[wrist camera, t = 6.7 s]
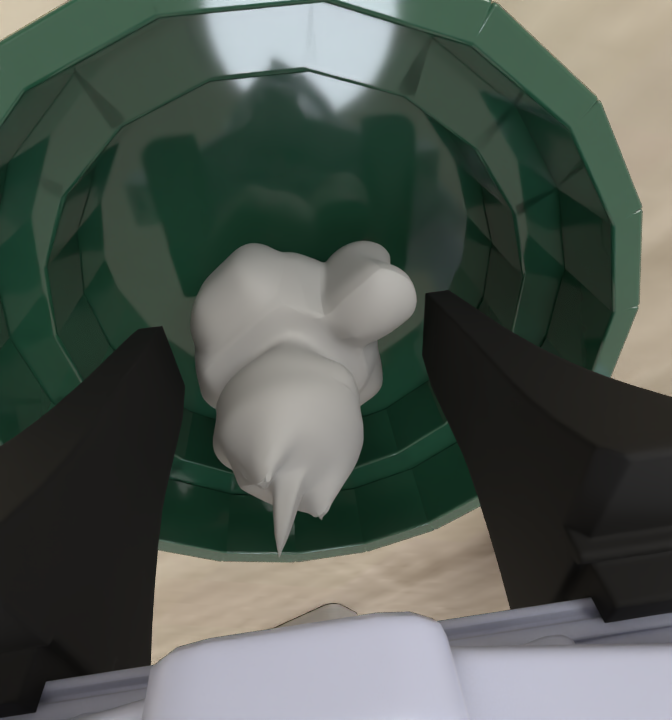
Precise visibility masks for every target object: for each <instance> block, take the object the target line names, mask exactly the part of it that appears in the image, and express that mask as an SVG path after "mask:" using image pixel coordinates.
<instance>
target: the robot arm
mask: <svg viewBox="0 0 672 720" xmlns="http://www.w3.org/2000/svg"><path fill="white" fill-rule="evenodd" d="M422 357H423V360H424V364H425V367H426V371H427V374H428V377H429V380H430V383H431V386H432V389H433V391H434V393H435V395H436V398H437V400H438V402H439V404H440V406H441V409H442V411H443V413H444V415H445V417H446V419H447V421H448V424H449V426H450V428H451V430H452V432H453V434H454V436H455V439H456V441H457V443H458V445H459V447H460V449H461V452H462V454H463V456H464V459H465V461H466V464H467V466H468V469H469V472H470V475H471V478H472V481H473V484H474V487H475V490H476V493H477V496H478V499H479V502H480V506H481V509H482V512H483V515H484V518H485V521H486V525H487V528H488V531H489V534H490V538H491V541H492V545H493V548H494V552H495V555H496V558H497V562H498V565H499V569H500V572H501V576H502V580H503V583H504V587H505V591H506V595H507V598H508V602H509V606H510V610H505V611H499V612H492V613H486V614H479V615H473V616H467V617H460V618H454V619H447V620H441V621H436V620H434V619H432V618H429V617H426V616H423V615H419V614H416V613H412V612H384V613H371V614H365V615H358V616H352V617H345V618H339V619H332V620H326V621H319V622H312V623H306V624H299V625H293V626H286V627H280V628H273V629H267V630H260V631H254V632H247V633H241V634H234V635H227V636H221V637H214V638H209V639H205V640H201V641H198V642H194V643H190V644H187V645H183V646H180V647H177V648H175V649H174V650H173V651H171V652H170V653H169V654H167V655H166V656H165V657H163V658H162V659H161V660H159V661H158V662H157V663H156V664H155V665H151V643H152V621H153V605H154V589H155V576H156V565H157V554H158V544H159V535H160V526H161V518H162V509H163V504H164V498H165V493H166V489H167V484H168V480H169V476H170V472H171V467H172V463H173V459H174V455H175V450H176V446H177V442H178V437H179V433H180V428H181V424H182V419H183V409H184V395H185V384H184V382H183V379H182V376H181V374H180V371H179V368H178V366H177V363H176V361H175V358H174V355H173V353H172V350H171V347H170V345H169V342H168V340H167V337H166V334H165V332H164V329H163V326H158V327H150V328H142V329H138V330H136V331H135V332H134V333H133V334H132V335H131V336H129V337H128V338H127V339H126V340H125V341H124V342H123V343H122V344H121V345H120V346H119V347H118V348H117V349H116V350H115V351H114V352H113V353H112V354H111V355H110V356H109V357H108V358H107V359H106V360H105V361H104V362H103V363H102V364H101V365H100V366H99V367H98V368H97V369H95V370H94V371H93V372H92V373H91V374H90V375H89V376H88V377H87V378H86V379H85V380H84V381H83V382H82V383H80V384H79V385H78V386H77V387H76V388H75V389H74V390H73V391H71V392H70V393H69V394H68V395H67V396H66V397H65V398H63V399H62V400H61V401H60V402H59V403H58V404H57V405H56V406H54V407H53V408H52V409H51V410H49V411H48V412H47V413H46V414H44V415H43V416H42V417H41V418H39V419H38V420H37V421H35V422H34V423H33V424H31V425H30V426H29V427H27V428H26V429H25V430H23V431H22V432H20V433H19V434H18V435H16V436H15V437H13V438H12V439H11V440H9V441H8V442H6V443H4V444H3V445H1V446H0V720H672V397H670V396H667V395H663V394H660V393H656V392H653V391H650V390H646V389H643V388H639V387H636V386H633V385H630V384H627V383H624V382H621V381H618V380H615V379H612V378H610V377H607V376H604V375H602V374H599V373H596V372H593V371H591V370H588V369H586V368H583V367H581V366H578V365H576V364H574V363H572V362H569V361H567V360H565V359H563V358H561V357H559V356H556V355H554V354H552V353H550V352H548V351H546V350H544V349H542V348H540V347H538V346H536V345H534V344H533V343H531V342H529V341H527V340H526V339H524V338H522V337H520V336H518V335H517V334H515V333H513V332H512V331H510V330H508V329H507V328H505V327H504V326H502V325H500V324H499V323H497V322H496V321H494V320H493V319H491V318H490V317H488V316H487V315H485V314H484V313H482V312H481V311H479V310H478V309H476V308H475V307H473V306H472V305H470V304H469V303H467V302H466V301H464V300H463V299H462V298H460V297H459V296H457V295H456V294H454V293H452V292H451V291H449V290H445V291H437V292H429V293H425V308H424V327H423V345H422Z"/></svg>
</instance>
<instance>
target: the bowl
mask: <svg viewBox="0 0 672 720" xmlns="http://www.w3.org/2000/svg"><path fill="white" fill-rule="evenodd" d="M641 208H642V204H641V202H640V199H639V197H638V194H637V192H636V189H635V187H634V184H633V182H632V179H631V176H630V174H629V171H628V169H627V166H626V164H625V161H624V159H623V156H622V154H621V151H620V149H619V146H618V144H617V141H616V139H615V136H614V133H613V131H612V128H611V126H610V123H609V121H608V118H607V116H606V113H605V111H604V108H603V106H602V103H601V101H600V100H598V99H597V96H596V95H595V94H594V93H593V92H592V91H591V90H590V89H589V88H588V87H587V86H586V85H585V84H584V83H583V82H581V81H580V80H579V79H578V78H577V77H576V76H575V75H574V74H573V73H572V72H571V71H570V70H569V69H568V68H567V67H566V66H564V65H563V64H562V63H561V62H560V61H559V60H558V59H557V58H556V57H555V56H554V55H553V54H552V53H551V52H550V51H549V50H548V49H546V48H545V47H544V46H543V45H542V44H541V43H540V42H539V41H538V40H537V39H536V38H535V37H534V36H533V35H532V34H531V33H529V32H528V31H527V30H526V29H525V28H524V27H523V26H522V25H521V24H520V23H519V22H518V21H517V20H516V19H515V18H514V17H512V16H511V15H510V14H509V13H508V12H507V11H506V10H505V9H504V8H503V7H502V6H501V5H500V4H499V3H498V2H494V1H492V0H68V1H66V2H65V3H63V4H61V5H60V6H58V7H56V8H55V9H53V10H51V11H49V12H48V13H46V14H44V15H43V16H41V17H39V18H37V19H36V20H34V21H32V22H31V23H29V24H27V25H25V26H24V27H22V28H20V29H19V30H17V31H15V32H13V33H12V34H10V35H8V36H7V37H5V38H3V39H1V40H0V446H1V445H3V444H4V443H6V442H8V441H9V440H11V439H12V438H13V437H15V436H16V435H18V434H19V433H20V432H22V431H23V430H25V429H26V428H27V427H29V426H30V425H31V424H33V423H34V422H35V421H37V420H38V419H39V418H41V417H42V416H43V415H44V414H46V413H47V412H48V411H49V410H51V409H52V408H53V407H54V406H56V405H57V404H58V403H59V402H60V401H61V400H62V399H63V398H65V397H66V396H67V395H68V394H69V393H70V392H71V391H73V390H74V389H75V388H76V387H77V386H78V385H79V384H80V383H82V382H83V381H84V380H85V379H86V378H87V377H88V376H89V375H90V374H91V373H92V372H93V371H94V370H95V369H97V368H98V367H99V366H100V365H101V364H102V363H103V362H104V361H105V360H106V359H107V358H108V357H109V356H110V355H111V354H112V353H113V352H114V351H115V350H116V349H117V348H118V347H119V346H120V345H121V344H122V343H123V342H124V341H125V340H126V339H127V338H128V337H129V336H131V335H132V334H133V333H134V332H135V331H136V330H138V329H142V328H150V327H158V326H163V329H164V332H165V334H166V337H167V340H168V342H169V345H170V347H171V350H172V353H173V355H174V358H175V361H176V363H177V366H178V368H179V371H180V374H181V376H182V379H183V382H184V384H185V395H184V409H183V419H182V424H181V428H180V433H179V437H178V442H177V446H176V450H175V455H174V459H173V463H172V467H171V472H170V476H169V480H168V484H167V489H166V493H165V498H164V504H163V509H162V518H161V526H160V535H159V544H158V550H160V551H166V552H171V553H177V554H182V555H187V556H193V557H198V558H204V559H209V560H215V561H224V562H295V561H296V562H302V561H309V560H315V559H322V558H329V557H336V556H342V555H349V554H356V553H363V552H366V551H371V550H374V549H377V548H380V547H384V546H387V545H390V544H393V543H396V542H399V541H402V540H406V539H409V538H412V537H415V536H418V535H421V534H424V533H427V532H431V531H433V530H434V529H438V528H440V527H442V526H444V525H446V524H448V523H449V522H451V521H453V520H455V519H457V518H459V517H461V516H463V515H465V514H467V513H469V512H470V511H472V510H474V509H476V508H478V507H480V502H479V499H478V496H477V493H476V490H475V487H474V484H473V481H472V478H471V475H470V472H469V469H468V466H467V464H466V461H465V459H464V456H463V454H462V452H461V449H460V447H459V445H458V443H457V441H456V439H455V436H454V434H453V432H452V430H451V428H450V426H449V424H448V421H447V419H446V417H445V415H444V413H443V411H442V409H441V406H440V404H439V402H438V400H437V398H436V395H435V393H434V391H433V389H432V386H431V383H430V380H429V377H428V374H427V371H426V367H425V364H424V360H423V357H422V345H423V327H424V308H425V293H429V292H437V291H445V290H449V291H451V292H452V293H454V294H456V295H457V296H459V297H460V298H462V299H463V300H464V301H466V302H467V303H469V304H470V305H472V306H473V307H475V308H476V309H478V310H479V311H481V312H482V313H484V314H485V315H487V316H488V317H490V318H491V319H493V320H494V321H496V322H497V323H499V324H500V325H502V326H504V327H505V328H507V329H508V330H510V331H512V332H513V333H515V334H517V335H518V336H520V337H522V338H524V339H526V340H527V341H529V342H531V343H533V344H534V345H536V346H538V347H540V348H542V349H544V350H546V351H548V352H550V353H552V354H554V355H556V356H559V357H561V358H563V359H565V360H567V361H569V362H572V363H574V364H576V365H578V366H581V367H583V368H586V369H588V370H591V371H593V372H596V373H599V374H602V375H604V376H607V377H610V378H611V376H612V373H613V371H614V368H615V366H616V363H617V361H618V358H619V356H620V353H621V351H622V348H623V346H624V343H625V341H626V338H627V336H628V333H629V331H630V328H631V326H632V323H633V321H634V318H635V316H636V313H637V311H638V305H639V302H640V272H641V242H642V213H643V212H642V209H641ZM356 241H371V242H374V243H377V244H380V245H381V246H383V247H384V248H385V249H386V250H387V252H388V253H389V255H390V264H391V265H394V266H396V267H398V268H400V269H401V270H402V271H404V272H405V273H406V274H407V275H408V276H409V278H410V280H411V281H412V283H413V285H414V288H415V292H416V299H417V303H416V307H415V311H414V312H413V314H412V316H411V317H410V318H409V319H408V320H407V321H405V322H404V323H403V324H402V325H400V326H399V327H398V328H396V329H395V330H393V331H392V332H391V333H389V334H387V335H386V336H384V337H382V338H380V339H378V340H377V341H378V350H379V354H380V359H381V365H382V373H383V381H382V386H381V388H380V390H379V391H378V393H377V394H376V395H375V396H373V397H372V398H371V399H369V400H368V401H367V402H365V403H364V404H362V405H361V406H360V409H361V415H362V419H363V434H364V440H363V446H362V450H361V452H360V455H359V458H358V461H357V463H356V465H355V467H354V469H353V471H352V472H351V474H350V475H349V477H348V478H347V480H346V481H345V483H344V485H343V486H342V488H341V489H340V491H339V493H338V494H337V496H336V497H335V499H334V501H333V502H332V504H331V506H330V509H329V511H328V512H327V513H326V514H325V515H324V516H323V518H322V520H321V519H320V518H319V516H318V517H313V516H312V515H311V514H309V513H305V512H301V511H298V510H297V513H296V516H295V519H294V522H293V525H292V528H291V531H290V533H289V536H288V539H287V541H286V543H285V546H284V548H283V550H282V552H281V554H280V556H279V555H278V550H277V545H276V540H275V533H274V519H273V505H272V504H270V503H267V502H265V501H263V500H261V499H259V498H257V497H255V496H253V495H251V494H249V493H247V492H245V491H243V490H242V489H241V488H240V487H239V485H238V483H237V480H236V478H235V475H234V472H233V470H232V469H230V468H228V467H226V466H225V465H224V464H223V463H221V462H220V460H219V459H218V458H217V456H216V454H215V452H214V448H213V435H214V429H215V423H216V409H215V408H213V407H211V406H210V405H209V404H208V403H207V402H206V401H205V400H204V399H203V397H202V394H201V391H200V387H199V383H198V379H197V374H196V369H195V344H194V341H193V339H192V335H191V330H190V320H191V313H192V309H193V305H194V302H195V299H196V296H197V294H198V292H199V290H200V288H201V286H202V284H203V283H204V281H205V280H206V278H207V277H208V276H209V275H210V274H211V273H212V272H213V271H214V270H215V269H216V268H217V267H218V266H219V265H220V264H221V263H222V262H224V261H225V260H226V259H227V258H228V257H229V256H230V255H231V254H232V253H233V252H234V251H235V250H236V249H238V248H239V247H241V246H243V245H245V244H249V243H258V244H263V245H266V246H269V247H271V248H273V249H275V250H277V251H280V252H293V253H298V254H302V255H305V256H308V257H310V258H313V259H315V260H318V261H320V262H326V261H327V260H328V259H329V257H330V256H331V255H332V254H333V253H335V252H336V251H337V250H338V249H340V248H341V247H343V246H345V245H347V244H349V243H353V242H356Z"/></svg>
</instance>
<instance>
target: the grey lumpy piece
mask: <svg viewBox="0 0 672 720" xmlns="http://www.w3.org/2000/svg"><path fill="white" fill-rule="evenodd" d="M416 303H417V299H416V292H415V288H414V285H413V283H412V281H411V280H410V278H409V276H408V275H407V274H406V273H405V272H404V271H402V270H401V269H400V268H398V267H396V266H394V265H391V264H390V255H389V253H388V252H387V250H386V249H385V248H384V247H383V246H381V245H380V244H377V243H374V242H371V241H356V242H353V243H349V244H347V245H345V246H343V247H341V248H340V249H338V250H337V251H336V252H335V253H333V254H332V255H331V256H330V257H329V259H328V260H327V261H326V262H320V261H318V260H315V259H313V258H310V257H308V256H305V255H302V254H298V253H293V252H280V251H277V250H275V249H273V248H271V247H269V246H266V245H263V244H258V243H249V244H245V245H243V246H241V247H239V248H238V249H236V250H235V251H234V252H233V253H232V254H231V255H230V256H229V257H228V258H227V259H226V260H225V261H224V262H222V263H221V264H220V265H219V266H218V267H217V268H216V269H215V270H214V271H213V272H212V273H211V274H210V275H209V276H208V277H207V278H206V280H205V281H204V283H203V284H202V286H201V288H200V290H199V292H198V294H197V296H196V299H195V302H194V305H193V309H192V313H191V320H190V330H191V335H192V339H193V341H194V344H195V369H196V374H197V379H198V383H199V387H200V391H201V394H202V397H203V399H204V400H205V401H206V402H207V403H208V404H209V405H210V406H211V407H213V408H215V409H216V423H215V429H214V435H213V448H214V452H215V454H216V456H217V458H218V459H219V460H220V462H221V463H223V464H224V465H225V466H226V467H228V468H230V469H232V470H233V472H234V475H235V478H236V480H237V483H238V485H239V487H240V488H241V489H242V490H243V491H245V492H247V493H249V494H251V495H253V496H255V497H257V498H259V499H261V500H263V501H265V502H267V503H270V504H272V505H273V519H274V533H275V540H276V545H277V550H278V555H279V556H280V554H281V552H282V550H283V548H284V546H285V543H286V541H287V539H288V536H289V533H290V531H291V528H292V525H293V522H294V519H295V516H296V513H297V510H298V511H301V512H305V513H309V514H311V515H312V516H313V517H318V516H319V518H320V519H321V520H322V518H323V516H324V515H325V514H326V513H327V512H328V511H329V509H330V506H331V504H332V502H333V501H334V499H335V497H336V496H337V494H338V493H339V491H340V489H341V488H342V486H343V485H344V483H345V481H346V480H347V478H348V477H349V475H350V474H351V472H352V471H353V469H354V467H355V465H356V463H357V461H358V458H359V455H360V452H361V450H362V446H363V440H364V434H363V419H362V415H361V409H360V406H361V405H362V404H364V403H365V402H367V401H368V400H369V399H371V398H372V397H373V396H375V395H376V394H377V393H378V391H379V390H380V388H381V386H382V381H383V373H382V365H381V359H380V354H379V350H378V341H377V340H378V339H380V338H382V337H384V336H386V335H387V334H389V333H391V332H392V331H393V330H395V329H396V328H398V327H399V326H400V325H402V324H403V323H404V322H405V321H407V320H408V319H409V318H410V317H411V316H412V314H413V312H414V311H415V307H416Z"/></svg>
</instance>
